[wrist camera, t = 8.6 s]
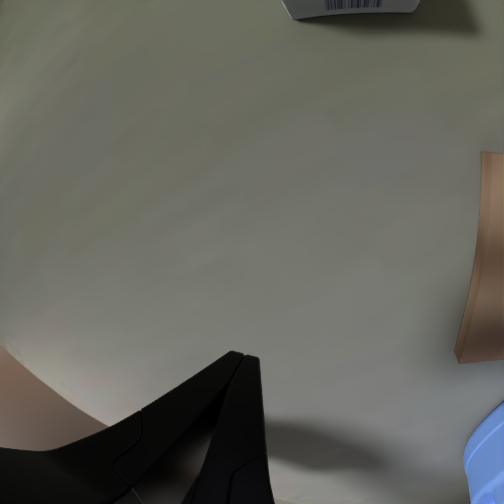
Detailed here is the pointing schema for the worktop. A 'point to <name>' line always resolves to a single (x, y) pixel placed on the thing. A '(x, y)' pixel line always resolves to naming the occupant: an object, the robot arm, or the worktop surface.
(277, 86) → the worktop surface
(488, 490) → the water jug
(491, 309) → the walnut cutting board
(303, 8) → the medicine box
